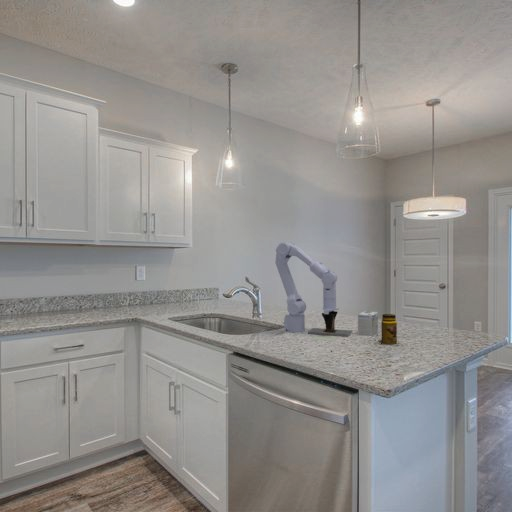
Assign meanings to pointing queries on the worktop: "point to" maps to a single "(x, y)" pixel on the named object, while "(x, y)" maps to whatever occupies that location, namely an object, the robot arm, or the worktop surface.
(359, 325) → the light bulb box
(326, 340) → the pad
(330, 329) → the peg
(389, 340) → the condiment
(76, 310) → the worktop surface
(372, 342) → the worktop surface
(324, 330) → the hole plate
